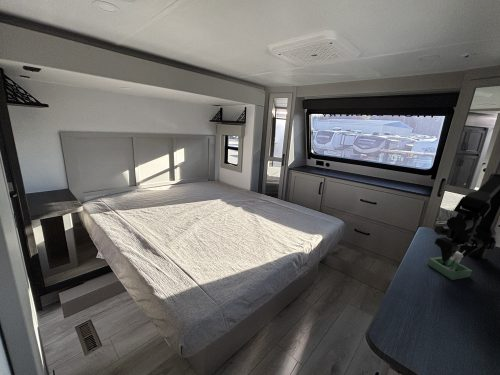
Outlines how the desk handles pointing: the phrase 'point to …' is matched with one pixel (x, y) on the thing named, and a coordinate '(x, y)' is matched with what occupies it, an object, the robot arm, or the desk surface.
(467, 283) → the desk surface
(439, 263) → the green square frame
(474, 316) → the desk surface
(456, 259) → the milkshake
